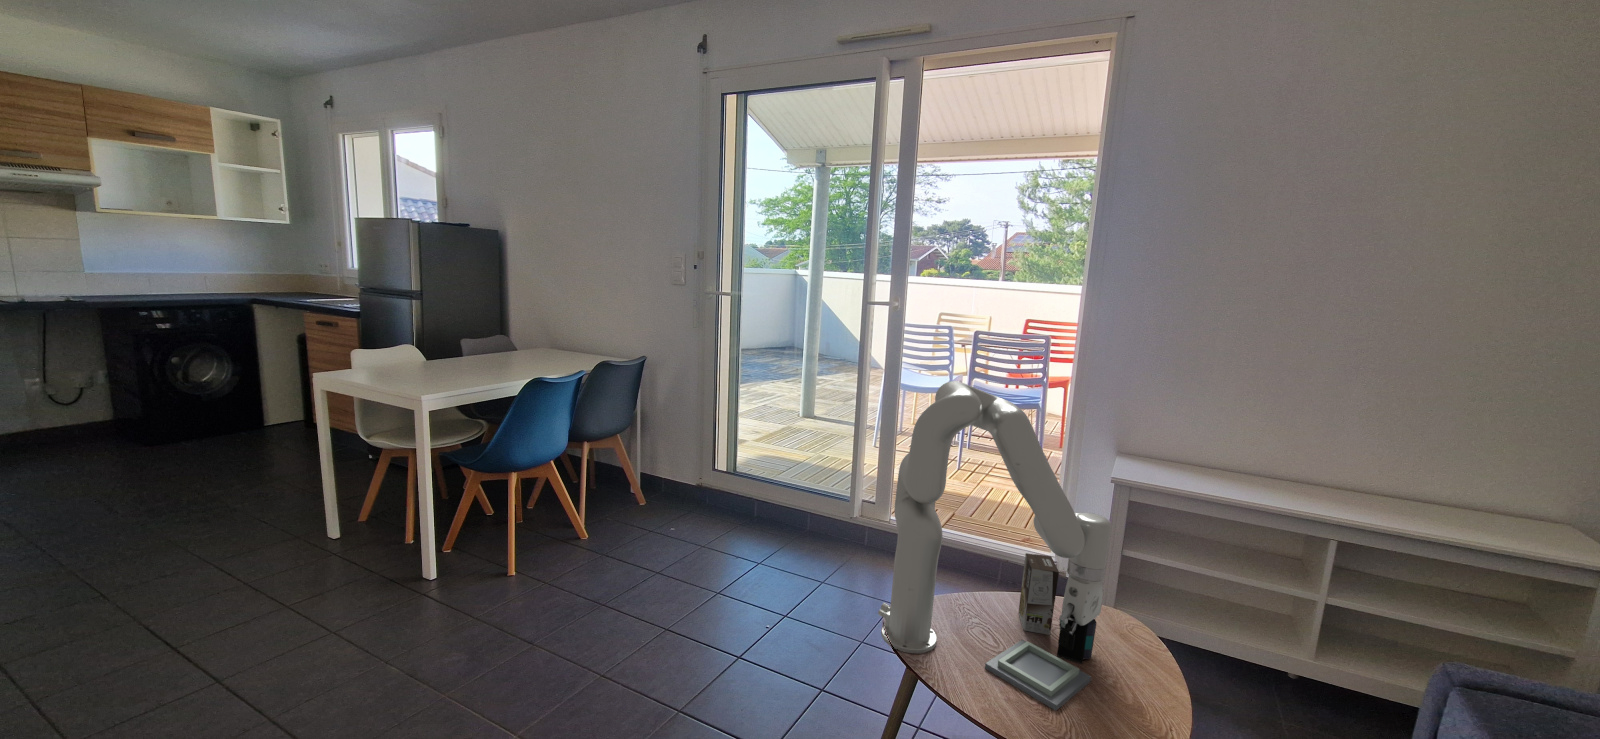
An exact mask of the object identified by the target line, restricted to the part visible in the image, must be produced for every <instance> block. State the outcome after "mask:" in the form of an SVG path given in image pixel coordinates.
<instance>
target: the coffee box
mask: <svg viewBox="0 0 1600 739" xmlns="http://www.w3.org/2000/svg"><path fill="white" fill-rule="evenodd" d="M1024 556H1025V557H1024V564H1023V572H1022V579H1021V581H1022V582H1021V589H1020V598H1019V606H1018V615H1019V618H1020V622H1021V626H1022V629H1023V631H1024V632H1030V633H1036V634H1043V635H1047V636H1048V635H1049V636H1050V635H1051V631H1052V625H1053V624H1052V623H1053V616H1054V609H1055V604H1056V595H1057V589H1058V583H1059V582H1058V580H1059V574H1060V571H1059V569H1058V567H1057V565H1056V563H1055V561H1054V559H1053V557H1052V556H1051V555H1045V554H1044V555H1043V554H1033V553H1025V555H1024Z"/></svg>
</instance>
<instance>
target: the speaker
mask: <svg viewBox="0 0 1600 739" xmlns="http://www.w3.org/2000/svg"><path fill="white" fill-rule="evenodd" d="M1070 617H1071V618H1073V619H1075V617H1073V616H1070ZM1068 624H1069V625H1070V627H1071V626H1072V624H1073V622H1071V621H1069V620H1068ZM1096 629H1097V621H1096V619H1095V620H1092V621H1090V622H1089V623H1087V624H1086V625H1083V626H1080V625H1079V624H1077V626H1076V629H1075V631H1074V633H1075V641H1074V648H1073V650H1072V651H1070V650H1068V649H1066V648H1065V647H1063V646H1061V645H1059V644H1058V646H1057V653H1056V657H1058V658H1060V659H1064V660H1068V661H1071V662H1073V663H1078V664H1080V665H1083V664H1084V660H1089V659H1091V658H1092V654H1093V648H1094V642H1095V635H1096Z"/></svg>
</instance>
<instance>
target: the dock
mask: <svg viewBox="0 0 1600 739" xmlns="http://www.w3.org/2000/svg"><path fill="white" fill-rule="evenodd" d="M984 664H985V665H984V669H985V670H986V671H989V672H990V673H991V674H994V675H995V676H997V677H999V678H1000V679H1002V680H1004V681H1006V682H1007V683H1009V684H1010V685H1012V686H1013V687H1016V688H1017V689H1019V690H1020V691H1022V692H1023V693H1025V694H1027V695H1028V696H1030V697H1032V698H1034V699H1036V700H1037V701H1039V702H1040V703H1042V704H1044V705H1046V706H1047V707H1049V708H1051V709H1052V710H1054V711H1058V710H1059V709H1060V708H1061V707H1063V705H1065V704H1066V703H1067V702H1068V701H1070V700H1071V699H1072V698H1073V697H1074V696H1075V695H1076V694H1078V693H1079V692H1080V691H1082V690H1083V689H1084V688H1085V687H1086V686H1087V685H1089V684H1090V683H1091V681H1092V675H1090V674H1088V673H1086V672H1084V671H1082V670H1080V668H1079V667H1077V666H1075V665H1073V664H1071V663H1069V662H1068V661H1065V659H1064V660H1063V658H1061V657H1058V656H1057V655H1054V654H1052V653H1050V652H1049V651H1047V650H1045V649H1043V648H1041V647H1039V646H1037V645H1035V644H1033V643H1032V642H1030V641H1026V640H1024V639H1021V640H1019V641H1018V642H1016V643H1015V644H1013V645H1011V646H1010V647H1008V648H1007V649H1006V650H1003V651H1002V652H1001V653H999V654H997V655H996V656H994V657H992V658H991V659H989V660H988V661H987V662H985V663H984Z"/></svg>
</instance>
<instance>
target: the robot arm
mask: <svg viewBox="0 0 1600 739" xmlns="http://www.w3.org/2000/svg"><path fill="white" fill-rule="evenodd" d="M934 400H935V401H934V402H932V404H931V405H929V406H928V407H927V408H925V410H923V412H922V413H921V414H920V415H919V417H918V418H917V420H916V421H915V424H914V427H913V430H912V434H911V435H912V436H911V441H910V447H909V452H908V453H907V454H906V455H905V456H904V457H903V458H902V460H901V462H900V465H899V469H898V474H897V475H898V476H897V482H896V483H897V484H896V491H895V501H894V517H895V523H896V524H895V525H896V528H897V541H896V547H895V554H894V562H893V564H894V565H893V573H892V574H893V575H892V584H891V594H890V596H891V597H890V605H889V604H887V603H885V602H882V604H881V605H880V609H879V610H878V611H877V615H878V616H880V617H882V618H883V619H884V620H885V621H884V623H883V624H882V626H881V630H880V631H881V632H880V634H881V637H882V639H883V641H884V642H885V643H886V644H887V645H888V646H889V647H891V648H893V647H894V648H893V649H895V650H897V649H898V650H897V651H899V652H902V653H907V654H915V655H916V654H917V655H919V654H925V653H928V652H929V651H932V650H933V649H934V648H935V647H936V645H937V642H938V641H937V640H938V638H937V634H936V631H934V630H933V629H932V620H933V611H934V602H935V601H934V600H935V599H934V598H935V592H936V582H937V581H936V580H937V574H938V573H937V572H938V564H939V563H938V562H939V556H940V553H941V552H940V551H941V547H942V544H943V528H942V527H943V526H942V524H941V521H940V518H939V516H938V514H937V511H936V502H937V501H938V500H940V499H941V497H942V495H943V494H944V492H945V490H946V483H947V473H948V464H949V456H950V450H951V446H952V443H953V440H954V439H955V437H956V435H957V434H959V432H961V431H962V430H964V429H966V428H968V427H970V426H972V427H975V428H978V429H981V430H984V431H986V432H988V433H989V434H990V435H991V437H992V439H993V442H994V443H995V446H996V448H997V449H998V452H999V454H1000V456H1001V458H1002V460H1003V463H1004V465H1005V467H1006V469H1007V473H1008V474H1009V476H1010V478H1011V481H1012V482H1013V484H1014V486H1015V487H1016V489H1017V491H1018V492H1019V493H1020V494H1021V496H1022V497H1023V499H1024V501H1025V502H1026V503H1027V504H1028V506H1029V507H1030V509H1031V510H1032V512H1033V514H1034V517H1033V527H1034V529H1035V531H1036V533H1037V534H1038V536H1040V538H1041V539H1042V540H1043V541H1044V543H1045V544H1046V545H1047V547H1048V548H1049V550H1050V551H1051V552H1052V553H1053V554H1054V555H1055V556H1058V557H1060V558H1063V559H1067V561H1068V562H1067V567H1066V569H1067V570H1066V573H1067V574H1068V577H1067V582H1066V584H1065V590H1064V594H1063V595H1064V596H1063V600H1062V607H1061V614H1060V616H1059V618H1058V619H1059V636H1058V641H1057V643H1058V645H1061V646H1063V647H1065V648H1066V649H1068V650H1070V651H1072V650H1073V648H1074V641H1075V633H1074V631H1075V629H1076V626H1077V624H1079V625H1080V626H1083V625H1086V624H1087V623H1089V622H1090V621H1092V620H1095V621H1096V618H1097V617H1098V616H1099V615H1100V614H1101V613H1102V612H1101V611H1102V604H1103V594H1104V593H1103V592H1104V581H1105V575H1106V574H1105V573H1106V569H1107V568H1106V566H1107V560H1108V554H1109V547H1110V540H1111V534H1112V523H1111V521H1110V520H1109V519H1108V518H1106V517H1105V516H1102V515H1099V514H1096V513H1092V512H1080V513H1079V512H1075V511H1074V509H1073V507H1072V505H1071V503H1070V501H1069V498H1068V497H1067V495H1066V493H1065V492H1064V490H1063V488H1062V486H1061V484H1060V482H1059V480H1058V477H1057V476H1056V474H1055V472H1054V471H1053V469H1052V467H1051V465H1050V462H1049V461H1048V458H1047V456H1046V455H1045V452H1044V450H1043V448H1042V446H1041V443H1040V441H1039V439H1038V437H1037V434H1036V432H1035V429H1034V427H1033V425H1032V423H1031V421H1030V419H1029V417H1028V415H1027V414H1026V413H1025V412H1024V410H1022V409H1021V408H1020V407H1018V406H1017V405H1016V404H1014V403H1013V402H1011V401H1010V400H1007V399H1004V398H1002V397H999V396H996V395H994V394H991V393H988V392H986V391H984V390H981V389H979V388H976V387H973V386H972V385H969V384H966V383H964V382H962V381H958V380H955V381H954V380H953V381H952V380H951V381H947V382H945V383H943V384H942V385H940V386H939V388H938V389H937V391H936V393H935V396H934ZM1070 616H1073V617H1075V619H1073V618H1071V617H1070ZM1068 620H1069V621H1071V622H1073V624H1072V626H1071V627H1070V625H1069V624H1068ZM884 626H885V629H886V632H887V635H888V637H889V640H890V641H891V644H892V645H893V647H892V646H891V644H890V642H889V640H888V638H887V636H886V633H885V630H884Z"/></svg>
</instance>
